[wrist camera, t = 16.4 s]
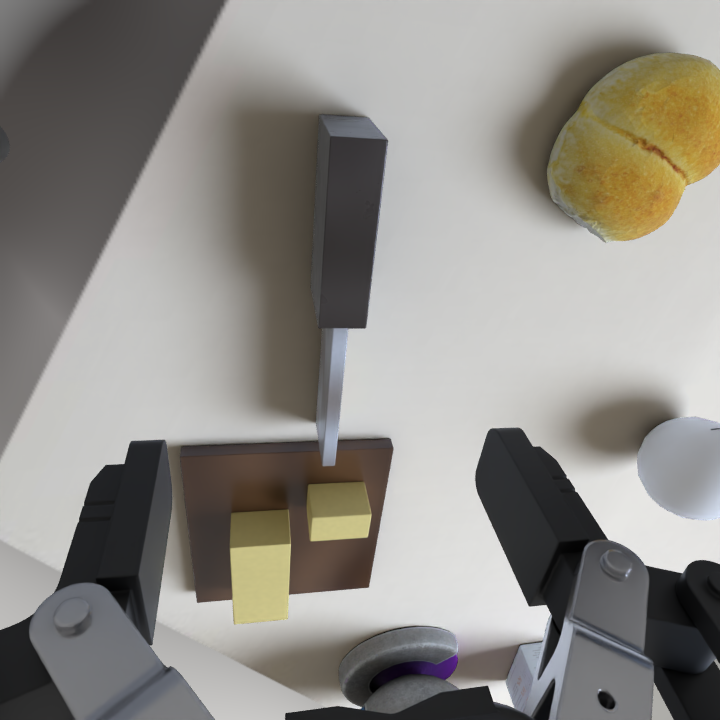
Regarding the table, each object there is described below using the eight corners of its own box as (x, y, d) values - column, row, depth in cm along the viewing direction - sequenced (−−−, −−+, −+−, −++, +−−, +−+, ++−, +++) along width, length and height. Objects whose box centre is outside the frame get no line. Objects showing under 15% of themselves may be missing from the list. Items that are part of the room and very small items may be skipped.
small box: (548, 674, 64) (594, 782, 55) (503, 681, 63) (543, 791, 54) (567, 637, 59) (620, 748, 51) (518, 643, 58) (564, 757, 50)
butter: (234, 588, 43) (233, 625, 41) (231, 512, 38) (229, 548, 36) (285, 584, 44) (287, 619, 42) (288, 508, 39) (290, 544, 37)
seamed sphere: (620, 479, 45) (676, 556, 39) (614, 418, 41) (676, 493, 35) (739, 436, 44) (815, 507, 38) (746, 368, 40) (832, 437, 34)
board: (197, 591, 44) (196, 603, 44) (181, 446, 36) (179, 456, 35) (366, 577, 47) (369, 587, 46) (390, 438, 38) (394, 448, 37)
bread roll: (736, 112, 29) (797, 130, 26) (608, 249, 32) (648, 279, 29) (646, 4, 25) (704, 8, 22) (513, 171, 29) (546, 195, 25)
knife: (319, 113, 26) (330, 136, 22) (369, 117, 26) (388, 139, 22) (303, 423, 36) (309, 473, 32) (339, 422, 37) (349, 471, 33)
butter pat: (306, 507, 39) (309, 542, 37) (307, 483, 38) (311, 518, 35) (361, 503, 40) (368, 537, 38) (364, 481, 39) (372, 514, 36)
